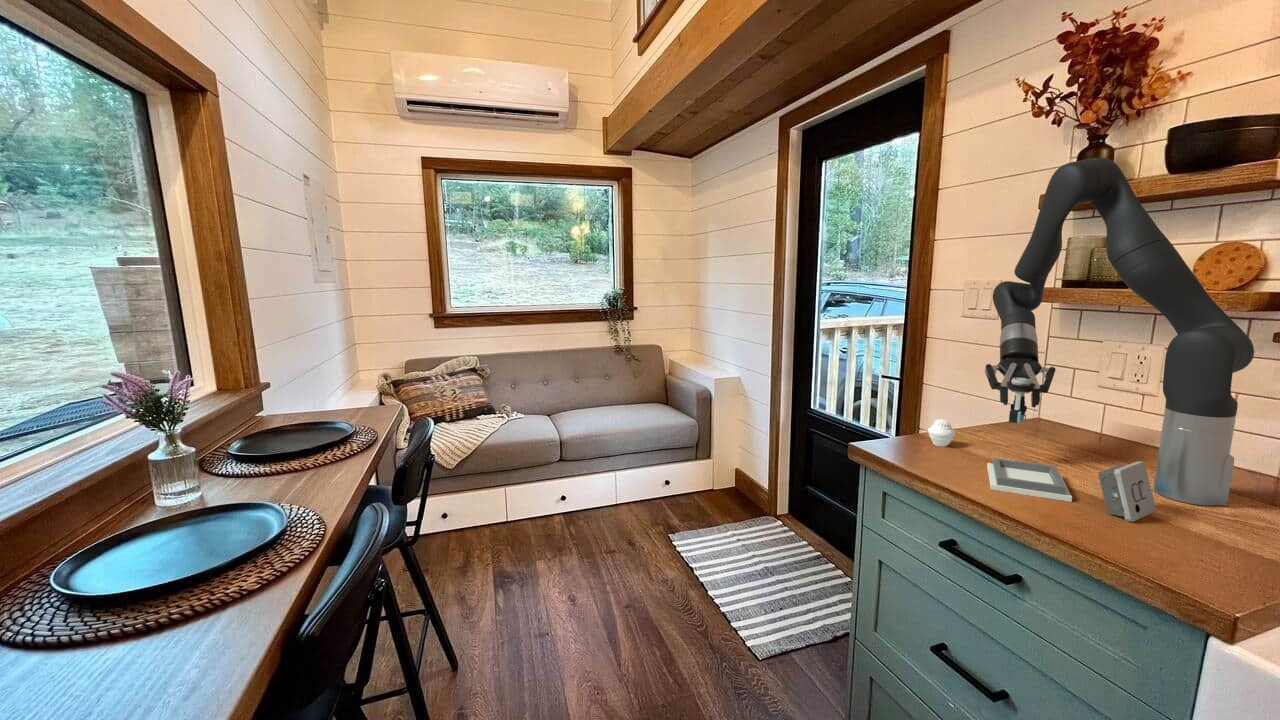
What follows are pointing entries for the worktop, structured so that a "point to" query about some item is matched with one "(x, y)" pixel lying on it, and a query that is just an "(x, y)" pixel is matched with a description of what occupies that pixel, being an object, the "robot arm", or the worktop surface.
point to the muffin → (941, 433)
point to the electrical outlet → (1127, 491)
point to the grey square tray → (1027, 479)
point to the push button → (1019, 398)
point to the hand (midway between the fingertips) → (1019, 404)
